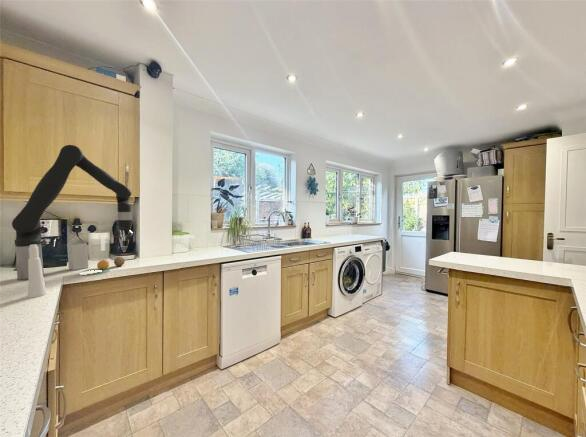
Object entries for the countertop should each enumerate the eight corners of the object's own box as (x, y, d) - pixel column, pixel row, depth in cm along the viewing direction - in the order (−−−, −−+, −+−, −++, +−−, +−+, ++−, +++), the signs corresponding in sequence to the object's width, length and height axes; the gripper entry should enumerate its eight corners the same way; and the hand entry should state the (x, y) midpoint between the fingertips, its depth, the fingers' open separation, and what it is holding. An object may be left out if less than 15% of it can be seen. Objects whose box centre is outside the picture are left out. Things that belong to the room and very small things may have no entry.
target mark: (78, 277, 132) (78, 276, 132) (78, 271, 143) (78, 270, 143) (111, 272, 141) (111, 271, 141) (109, 266, 152) (109, 266, 152)
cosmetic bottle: (51, 292, 111) (47, 243, 109) (37, 297, 105) (33, 246, 103) (37, 292, 111) (32, 243, 109) (22, 297, 105) (18, 246, 103)
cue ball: (127, 257, 158) (123, 266, 157) (117, 255, 156) (113, 264, 155) (124, 258, 153) (121, 267, 152) (114, 256, 151) (111, 265, 150)
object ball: (107, 271, 147) (97, 271, 142) (102, 266, 150) (93, 265, 144) (112, 264, 148) (103, 263, 143) (108, 258, 150) (99, 257, 145)
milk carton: (83, 266, 154) (81, 235, 152) (88, 267, 150) (86, 236, 148) (68, 268, 148) (66, 237, 146) (73, 270, 144) (71, 238, 142)
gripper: (111, 219, 156) (112, 246, 157) (126, 219, 152) (127, 248, 153) (122, 218, 163) (123, 244, 165) (137, 219, 159) (138, 246, 160)
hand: (125, 246), depth 159 cm, fingers closed
